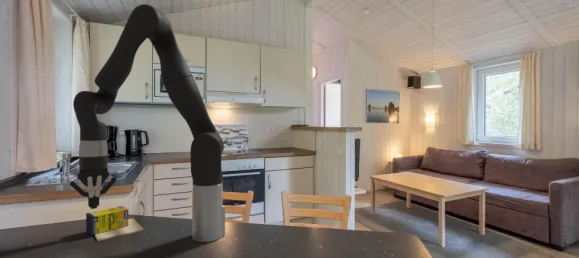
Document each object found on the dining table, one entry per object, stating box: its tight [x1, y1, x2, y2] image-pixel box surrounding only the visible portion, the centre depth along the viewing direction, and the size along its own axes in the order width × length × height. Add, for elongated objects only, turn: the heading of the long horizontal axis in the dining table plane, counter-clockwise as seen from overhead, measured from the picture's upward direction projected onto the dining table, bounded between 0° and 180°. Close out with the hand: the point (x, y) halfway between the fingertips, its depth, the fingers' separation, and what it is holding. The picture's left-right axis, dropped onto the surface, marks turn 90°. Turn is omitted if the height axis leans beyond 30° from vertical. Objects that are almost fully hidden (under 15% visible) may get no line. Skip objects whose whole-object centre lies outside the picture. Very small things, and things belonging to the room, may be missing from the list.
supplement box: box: [85, 205, 129, 236], centre depth 95 cm, size 6×6×11 cm
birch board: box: [94, 218, 145, 242], centre depth 96 cm, size 13×14×1 cm
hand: (93, 208), depth 91 cm, fingers closed
